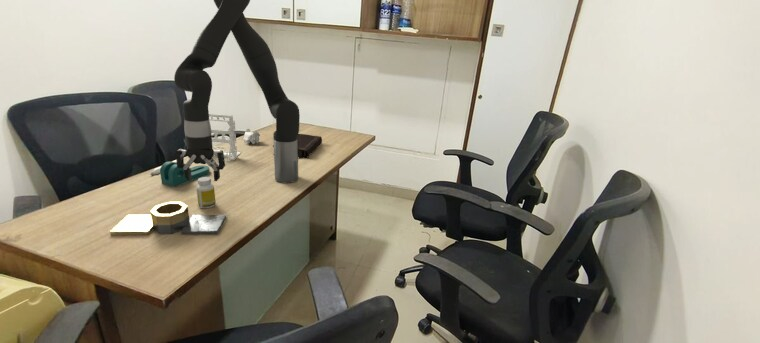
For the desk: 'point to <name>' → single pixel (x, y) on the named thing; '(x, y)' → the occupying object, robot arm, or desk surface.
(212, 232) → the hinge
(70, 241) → the desk surface
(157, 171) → the marker
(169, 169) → the bracket
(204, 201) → the supplement bottle
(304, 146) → the diary
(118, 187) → the desk surface
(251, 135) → the elephant figurine
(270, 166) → the desk surface
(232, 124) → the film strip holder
